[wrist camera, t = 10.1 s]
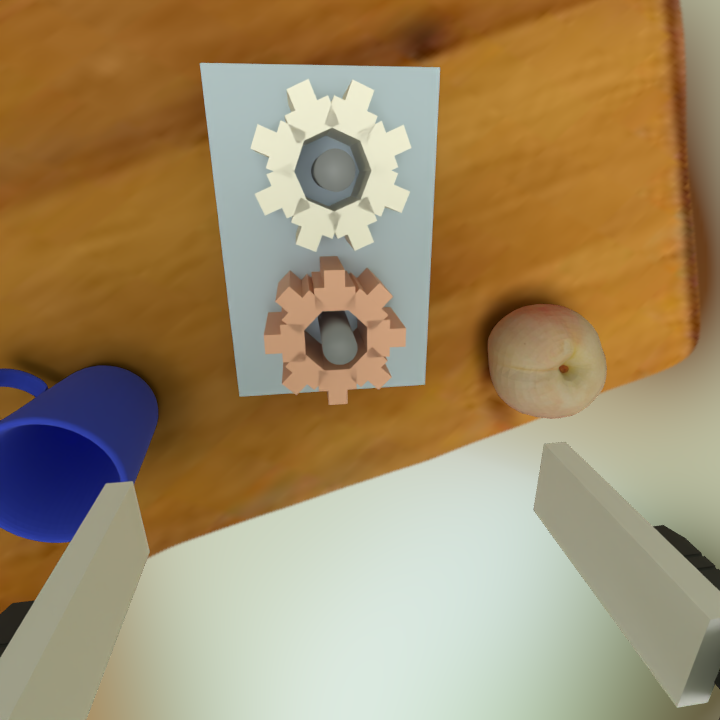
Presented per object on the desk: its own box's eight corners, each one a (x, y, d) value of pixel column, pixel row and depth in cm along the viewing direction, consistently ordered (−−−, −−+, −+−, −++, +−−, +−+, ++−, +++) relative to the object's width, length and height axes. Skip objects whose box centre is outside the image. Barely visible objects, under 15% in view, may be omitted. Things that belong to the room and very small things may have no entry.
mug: (20, 303, 31) (-97, 357, 22) (190, 382, 34) (152, 458, 25) (-20, 399, 33) (-142, 486, 24) (145, 465, 36) (94, 562, 27)
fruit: (576, 296, 36) (649, 326, 29) (552, 388, 39) (611, 438, 31) (480, 289, 35) (530, 320, 27) (462, 385, 38) (503, 436, 30)
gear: (295, 262, 31) (295, 277, 26) (231, 130, 27) (218, 121, 23) (413, 209, 30) (434, 214, 26) (363, 68, 27) (377, 46, 22)
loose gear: (263, 258, 30) (257, 272, 26) (391, 254, 31) (407, 267, 27) (273, 377, 33) (270, 408, 29) (389, 370, 35) (403, 399, 30)
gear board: (241, 387, 35) (227, 444, 28) (204, 68, 27) (170, 28, 20) (419, 376, 37) (451, 426, 29) (433, 72, 29) (480, 36, 22)
